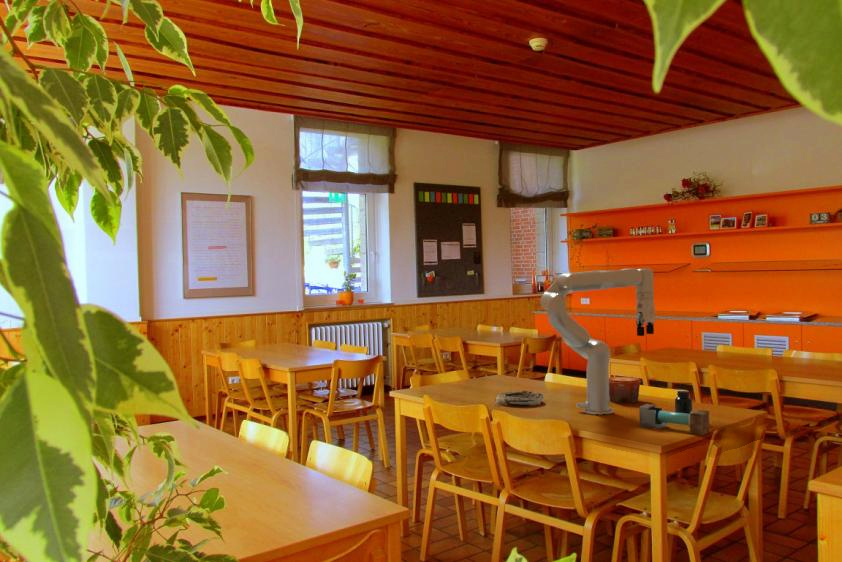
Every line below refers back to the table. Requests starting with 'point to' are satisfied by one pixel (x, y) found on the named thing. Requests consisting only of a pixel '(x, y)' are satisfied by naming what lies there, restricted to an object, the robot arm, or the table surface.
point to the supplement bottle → (683, 402)
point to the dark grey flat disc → (519, 398)
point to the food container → (624, 389)
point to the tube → (674, 417)
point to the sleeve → (650, 417)
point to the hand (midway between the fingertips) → (645, 334)
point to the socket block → (699, 422)
